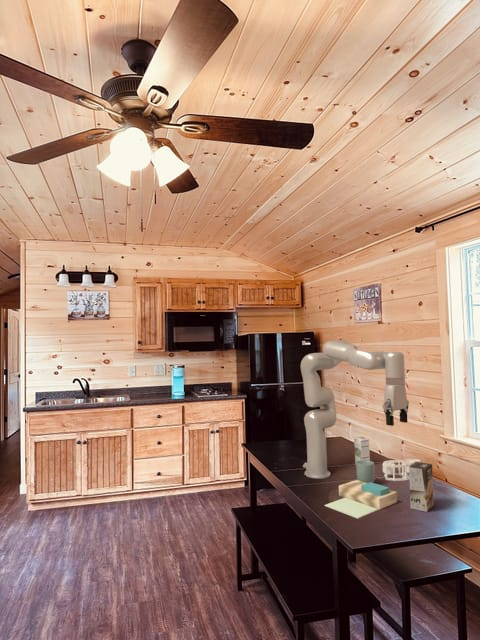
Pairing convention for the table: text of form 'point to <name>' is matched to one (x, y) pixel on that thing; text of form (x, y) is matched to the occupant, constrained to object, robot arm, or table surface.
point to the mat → (351, 507)
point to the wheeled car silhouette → (390, 468)
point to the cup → (365, 471)
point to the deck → (366, 495)
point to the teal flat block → (375, 489)
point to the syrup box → (361, 449)
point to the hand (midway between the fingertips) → (396, 423)
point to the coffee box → (421, 486)
